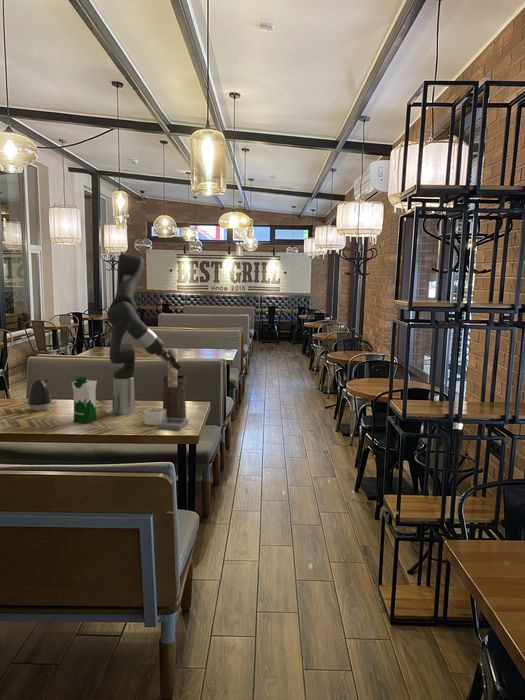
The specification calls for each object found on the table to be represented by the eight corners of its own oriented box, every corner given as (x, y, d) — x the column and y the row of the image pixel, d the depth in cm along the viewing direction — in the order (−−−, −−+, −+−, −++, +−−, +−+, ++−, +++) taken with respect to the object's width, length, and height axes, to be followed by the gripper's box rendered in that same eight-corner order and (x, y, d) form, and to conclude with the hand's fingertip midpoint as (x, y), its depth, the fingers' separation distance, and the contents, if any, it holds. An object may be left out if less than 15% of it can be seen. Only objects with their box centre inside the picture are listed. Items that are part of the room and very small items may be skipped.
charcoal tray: (157, 429, 205) (157, 423, 205) (166, 423, 215) (166, 417, 214) (179, 431, 203) (179, 425, 203) (188, 424, 213) (188, 419, 212)
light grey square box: (144, 425, 211) (144, 411, 210) (151, 420, 218) (151, 407, 217) (159, 426, 209) (159, 413, 209) (166, 421, 216) (166, 408, 216)
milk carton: (70, 422, 213) (69, 378, 210) (84, 417, 221) (83, 374, 218) (87, 424, 210) (85, 379, 207) (100, 419, 218) (99, 376, 216)
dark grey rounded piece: (56, 409, 234) (55, 378, 232) (36, 413, 225) (35, 381, 223) (43, 406, 239) (42, 376, 237) (23, 410, 231) (22, 379, 228)
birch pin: (166, 387, 205) (166, 349, 203) (170, 385, 209) (169, 348, 206) (175, 387, 204) (175, 350, 202) (178, 385, 208) (178, 349, 206)
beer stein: (180, 422, 216) (181, 378, 214) (158, 420, 218) (159, 376, 216) (192, 415, 231) (193, 374, 229) (171, 414, 233) (172, 373, 231)
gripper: (161, 335, 193) (189, 363, 201) (149, 332, 205) (176, 358, 213) (149, 349, 191) (177, 377, 199) (137, 345, 203) (164, 371, 211)
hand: (176, 367), depth 206 cm, fingers closed on birch pin, 4 cm apart
